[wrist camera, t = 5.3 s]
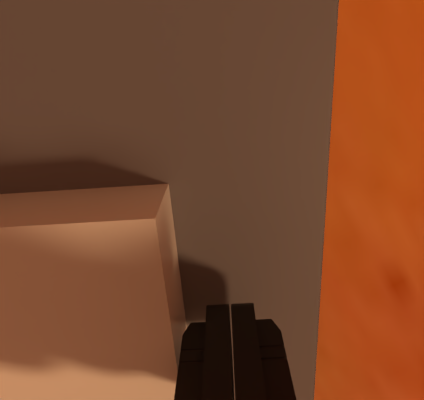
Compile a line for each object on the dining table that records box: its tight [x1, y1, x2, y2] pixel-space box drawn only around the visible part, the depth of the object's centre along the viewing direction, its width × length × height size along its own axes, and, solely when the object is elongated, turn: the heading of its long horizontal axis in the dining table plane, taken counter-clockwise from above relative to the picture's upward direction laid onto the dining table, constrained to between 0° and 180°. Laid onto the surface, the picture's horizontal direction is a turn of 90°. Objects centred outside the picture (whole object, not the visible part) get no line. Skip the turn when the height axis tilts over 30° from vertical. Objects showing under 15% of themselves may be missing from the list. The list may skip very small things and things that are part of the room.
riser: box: [0, 0, 339, 400], centre depth 14 cm, size 24×14×4 cm, turn 4°
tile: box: [0, 184, 187, 400], centre depth 11 cm, size 9×7×2 cm
